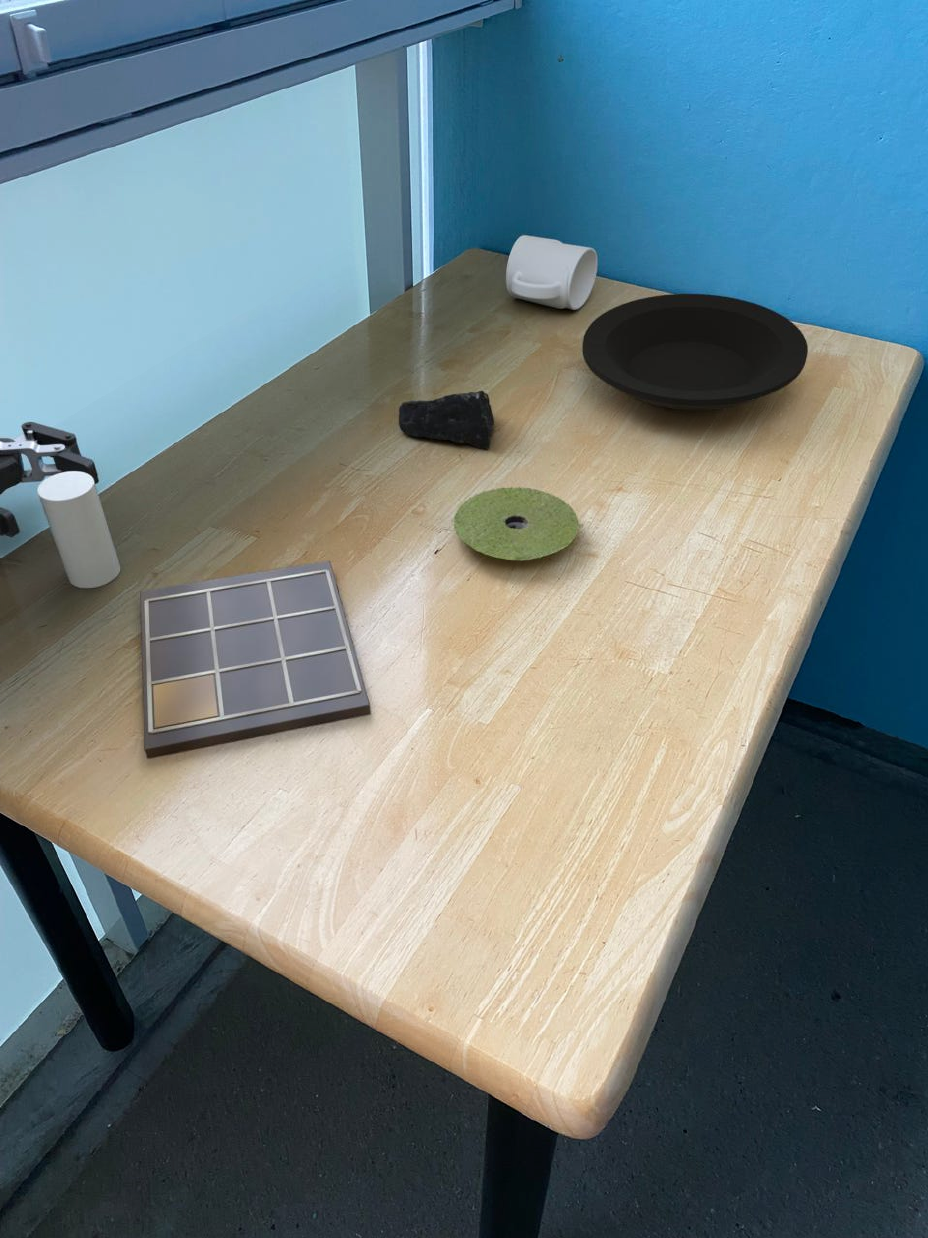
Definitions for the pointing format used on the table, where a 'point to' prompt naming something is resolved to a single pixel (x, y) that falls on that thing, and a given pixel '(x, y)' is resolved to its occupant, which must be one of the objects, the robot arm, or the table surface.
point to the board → (246, 658)
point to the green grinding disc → (516, 523)
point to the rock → (450, 418)
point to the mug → (551, 272)
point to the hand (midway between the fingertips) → (55, 499)
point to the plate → (694, 350)
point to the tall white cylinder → (79, 528)
